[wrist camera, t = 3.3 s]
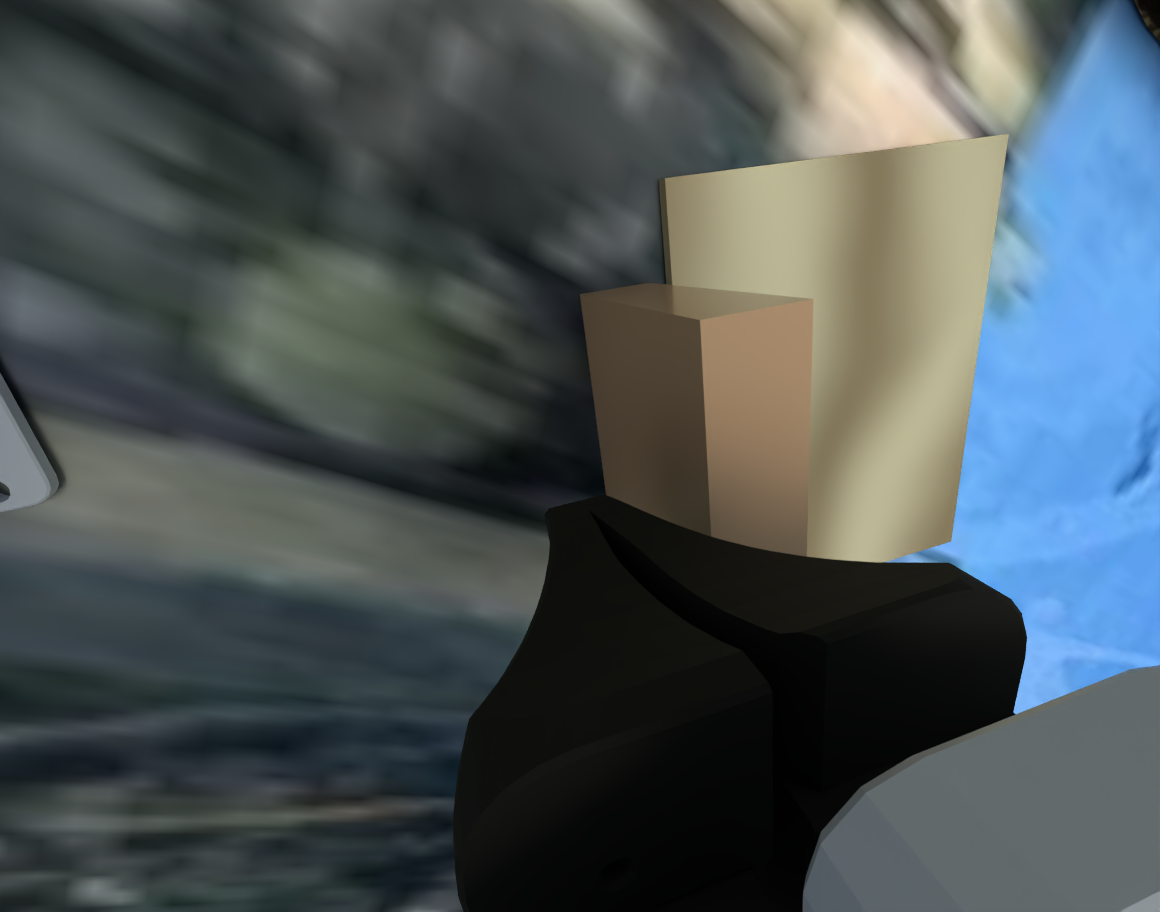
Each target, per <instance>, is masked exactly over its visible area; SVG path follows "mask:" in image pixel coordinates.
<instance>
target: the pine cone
mask: <svg viewBox="0 0 1160 912" xmlns="http://www.w3.org/2000/svg"><path fill="white" fill-rule="evenodd" d="M1134 2H1135V4H1136V6H1137V8H1138V10H1139V12H1140V14H1141V16H1142V18H1143V20H1144V22H1145V24H1146V26H1147V27H1148V29H1149V30H1150V31H1151V32H1152V33H1153V34H1154V35H1155V36H1156V38H1157V39H1158V40H1159V41H1160V0H1134Z"/></svg>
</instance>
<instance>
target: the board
mask: <svg viewBox="0 0 1160 912" xmlns="http://www.w3.org/2000/svg"><path fill="white" fill-rule="evenodd" d="M1007 142H1008V134H1006V135H998V136H990V137H982V138H974V139H967V140H959V141H951V142H943V143H936V144H928V145H920V146H912V147H904V148H897V149H889V150H881V151H873V152H866V153H858V154H850V155H842V156H834V157H827V158H819V159H811V160H803V161H796V162H788V163H780V164H772V165H764V166H757V167H749V168H741V169H733V170H725V171H718V172H710V173H702V174H694V175H687V176H679V177H671V178H664V179H661V180H659V191H660V205H661V219H662V232H663V246H664V260H665V274H666V284H667V285H677V286H688V287H698V288H708V289H718V290H728V291H738V292H749V293H759V294H769V295H779V296H789V297H800V298H810V299H813V335H812V374H811V413H810V452H809V491H808V530H807V557H815V558H824V559H834V560H848V561H862V562H886V561H889V560H893V559H896V558H899V557H902V556H905V555H909V554H912V553H915V552H918V551H921V550H925V549H928V548H931V547H934V546H938V545H941V544H944V543H947V542H950V541H951V538H952V531H953V524H954V517H955V510H956V503H957V496H958V489H959V482H960V475H961V468H962V460H963V453H964V446H965V439H966V432H967V425H968V418H969V411H970V404H971V397H972V390H973V382H974V375H975V368H976V361H977V354H978V347H979V340H980V333H981V326H982V319H983V312H984V305H985V297H986V290H987V283H988V276H989V269H990V262H991V255H992V248H993V241H994V234H995V227H996V219H997V212H998V205H999V198H1000V191H1001V184H1002V177H1003V170H1004V163H1005V156H1006V149H1007Z"/></svg>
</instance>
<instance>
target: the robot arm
mask: <svg viewBox="0 0 1160 912" xmlns="http://www.w3.org/2000/svg"><path fill="white" fill-rule="evenodd" d="M0 482H1V483H3V484H5V485H6V486H7V487H8V488H9V490H10V494H11V495H10V496H6V495H4V494H1V493H0V512H5V511H10V510H15V509H19V508H24V507H29V506H34V505H37V504H39V503H42V502H44V501H45V500H47V499H49V498H50V497H52V496H53V495H54V493H55V492H56V491H57V489H58V485H59V482H58V478H57V475H56V473H55V472H54V470H53V468H52V466H51V464H50V462H49V461H48V459H47V457H46V455H45V453H44V452H43V450H42V448H41V446H40V444H39V442H38V441H37V439H36V437H35V435H34V433H33V432H32V430H31V428H30V426H29V424H28V422H27V421H26V419H25V417H24V415H23V413H22V412H21V410H20V408H19V406H18V404H17V402H16V401H15V399H14V397H13V395H12V393H11V391H10V390H9V388H8V386H7V384H6V382H5V381H4V379H3V377H2V375H1V373H0ZM545 519H546V525H547V530H548V536H549V541H550V551H549V561H548V566H547V571H546V577H545V582H544V586H543V589H542V593H541V596H540V599H539V602H538V605H537V608H536V611H535V614H534V616H533V619H532V621H531V623H530V626H529V628H528V631H527V633H526V635H525V637H524V639H523V641H522V643H521V645H520V647H519V648H518V650H517V652H516V654H515V655H514V657H513V659H512V660H511V662H510V664H509V665H508V667H507V669H506V671H505V672H504V674H503V676H502V677H501V679H500V680H499V682H498V683H497V684H496V686H495V687H494V688H493V690H492V691H491V692H490V694H489V695H488V696H487V698H486V699H485V700H484V701H483V703H482V704H481V705H480V707H479V708H478V709H477V710H476V711H475V712H474V714H473V715H472V716H471V717H470V719H469V722H468V726H467V731H466V735H465V740H464V745H463V749H462V754H461V760H460V766H459V771H458V777H457V785H456V793H455V804H454V816H453V843H454V859H455V874H456V881H457V889H458V896H459V900H460V903H461V906H462V908H463V911H464V912H1160V665H1159V666H1152V667H1144V668H1137V669H1130V670H1127V671H1125V672H1122V673H1120V674H1117V675H1115V676H1112V677H1110V678H1107V679H1104V680H1102V681H1099V682H1097V683H1094V684H1092V685H1089V686H1087V687H1084V688H1082V689H1079V690H1077V691H1074V692H1072V693H1069V694H1067V695H1064V696H1062V697H1059V698H1056V699H1054V700H1051V701H1049V702H1046V703H1044V704H1041V705H1039V706H1036V707H1034V708H1031V709H1029V710H1026V711H1024V712H1021V713H1019V714H1014V713H1013V711H1014V706H1015V701H1016V697H1017V692H1018V688H1019V683H1020V679H1021V674H1022V670H1023V665H1024V660H1025V653H1026V642H1027V636H1026V630H1025V626H1024V622H1023V617H1022V613H1021V612H1020V610H1019V609H1018V608H1017V606H1016V605H1015V604H1014V602H1013V601H1012V600H1011V599H1010V598H1008V597H1007V596H1005V595H1003V594H1002V593H1000V592H998V591H996V590H995V589H993V588H991V587H990V586H988V585H986V584H985V583H983V582H981V581H979V580H978V579H976V578H974V577H973V576H971V575H969V574H968V573H966V572H964V571H962V570H961V569H959V568H957V567H956V566H954V565H952V564H950V563H886V562H862V561H848V560H834V559H824V558H815V557H807V556H800V555H793V554H787V553H781V552H774V551H769V550H764V549H759V548H754V547H749V546H745V545H741V544H737V543H733V542H729V541H725V540H721V539H718V538H715V537H711V536H708V535H705V534H702V533H699V532H696V531H693V530H690V529H687V528H684V527H682V526H679V525H676V524H674V523H671V522H669V521H666V520H664V519H661V518H659V517H656V516H654V515H652V514H649V513H647V512H645V511H643V510H640V509H638V508H636V507H634V506H631V505H629V504H627V503H625V502H622V501H620V500H618V499H615V498H613V497H610V496H607V495H601V496H597V497H593V498H589V499H585V500H581V501H577V502H573V503H569V504H565V505H561V506H557V507H553V508H549V509H548V511H547V512H546V514H545Z"/></svg>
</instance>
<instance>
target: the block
mask: <svg viewBox="0 0 1160 912" xmlns="http://www.w3.org/2000/svg"><path fill="white" fill-rule="evenodd" d="M580 300H581V307H582V315H583V322H584V330H585V338H586V345H587V353H588V360H589V368H590V376H591V383H592V391H593V398H594V406H595V414H596V421H597V429H598V437H599V444H600V452H601V459H602V467H603V475H604V482H605V490H606V495H607V496H610V497H613V498H615V499H618V500H620V501H622V502H625V503H627V504H629V505H631V506H634V507H636V508H638V509H640V510H643V511H645V512H647V513H649V514H652V515H654V516H656V517H659V518H661V519H664V520H666V521H669V522H671V523H674V524H676V525H679V526H682V527H684V528H687V529H690V530H693V531H696V532H699V533H702V534H705V535H708V536H711V537H715V538H718V539H721V540H725V541H729V542H733V543H737V544H741V545H745V546H749V547H754V548H759V549H764V550H769V551H774V552H781V553H787V554H793V555H800V556H807V530H808V491H809V452H810V413H811V374H812V335H813V299H810V298H800V297H789V296H779V295H769V294H759V293H749V292H738V291H728V290H718V289H708V288H698V287H688V286H677V285H667V284H657V283H644V284H638V285H632V286H626V287H620V288H614V289H608V290H602V291H597V292H591V293H585V294H580Z"/></svg>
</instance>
